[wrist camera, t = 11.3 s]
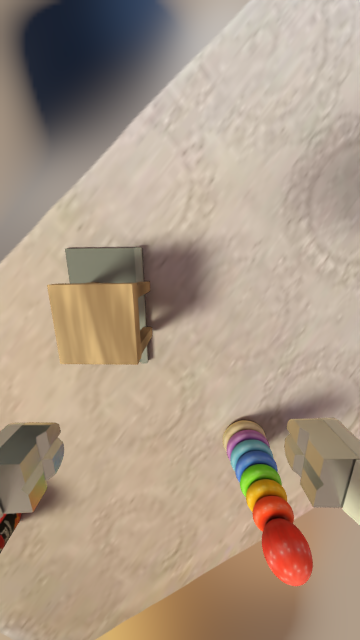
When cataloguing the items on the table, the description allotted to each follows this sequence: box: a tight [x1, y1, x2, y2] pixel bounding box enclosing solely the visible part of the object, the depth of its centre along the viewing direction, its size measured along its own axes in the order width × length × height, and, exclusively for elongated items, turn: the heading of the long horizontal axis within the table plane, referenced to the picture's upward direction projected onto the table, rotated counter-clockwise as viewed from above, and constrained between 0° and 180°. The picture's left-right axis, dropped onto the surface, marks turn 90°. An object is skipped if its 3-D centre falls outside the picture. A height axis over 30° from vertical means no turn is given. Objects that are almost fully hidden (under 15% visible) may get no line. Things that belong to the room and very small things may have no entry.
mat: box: [65, 247, 148, 363], centre depth 32 cm, size 11×18×1 cm, turn 1°
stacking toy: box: [223, 420, 313, 586], centre depth 30 cm, size 8×8×19 cm
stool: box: [47, 282, 152, 364], centre depth 27 cm, size 10×9×9 cm
